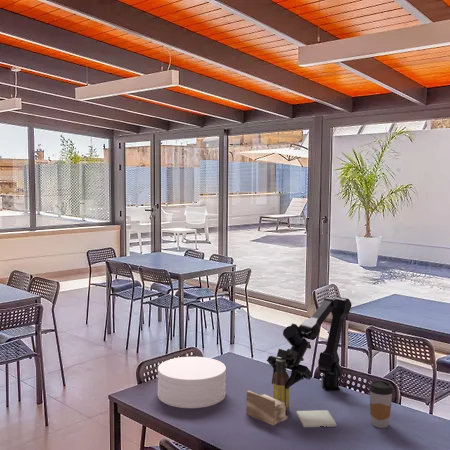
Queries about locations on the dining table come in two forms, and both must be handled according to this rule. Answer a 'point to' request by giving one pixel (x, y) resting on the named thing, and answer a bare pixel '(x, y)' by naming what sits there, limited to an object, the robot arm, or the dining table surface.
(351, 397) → the dining table surface
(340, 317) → the robot arm
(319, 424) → the cream tile board
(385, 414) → the coffee cup
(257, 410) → the offcut rack
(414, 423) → the dining table surface
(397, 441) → the dining table surface
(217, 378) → the plate stack
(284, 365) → the sauce bottle
